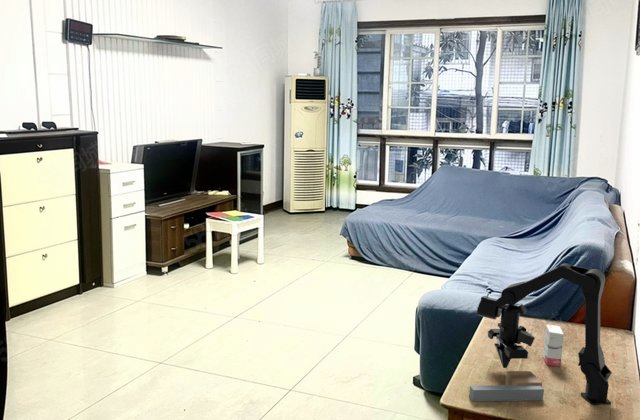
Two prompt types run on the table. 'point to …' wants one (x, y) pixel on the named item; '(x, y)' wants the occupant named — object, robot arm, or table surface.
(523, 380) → the walnut block
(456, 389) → the table surface
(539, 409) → the table surface
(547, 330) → the ink box
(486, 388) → the grey board
